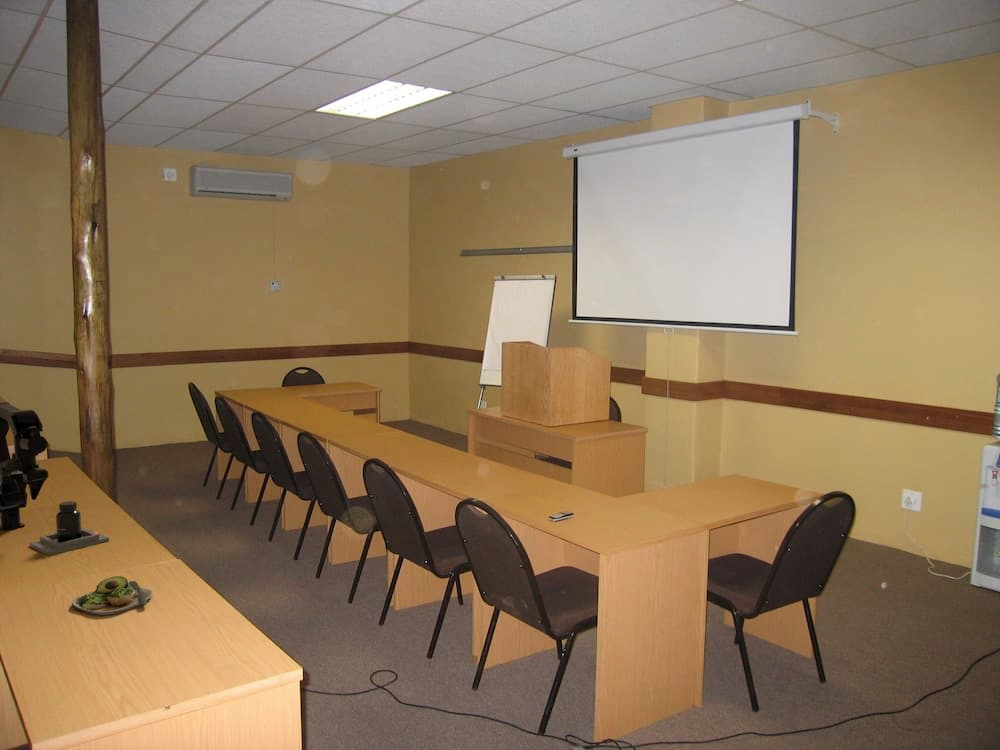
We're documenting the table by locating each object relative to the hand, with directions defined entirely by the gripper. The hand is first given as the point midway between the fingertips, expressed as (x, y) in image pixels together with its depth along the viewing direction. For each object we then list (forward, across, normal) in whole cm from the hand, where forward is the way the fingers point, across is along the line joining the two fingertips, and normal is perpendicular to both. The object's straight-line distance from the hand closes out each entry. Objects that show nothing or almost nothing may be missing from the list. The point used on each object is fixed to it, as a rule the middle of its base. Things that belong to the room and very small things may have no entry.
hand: (27, 497), depth 250 cm
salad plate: (+14, +73, -8) cm, 75 cm away
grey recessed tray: (+13, +17, +5) cm, 22 cm away
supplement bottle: (+12, +17, +5) cm, 21 cm away
